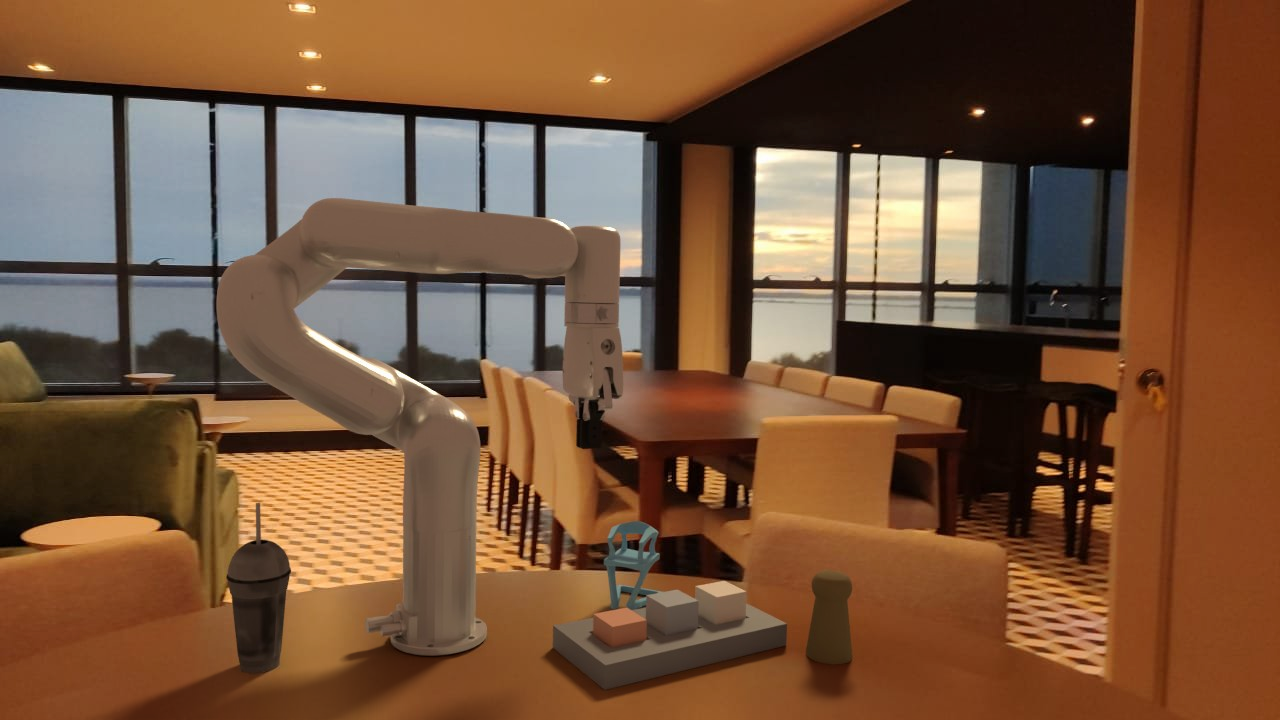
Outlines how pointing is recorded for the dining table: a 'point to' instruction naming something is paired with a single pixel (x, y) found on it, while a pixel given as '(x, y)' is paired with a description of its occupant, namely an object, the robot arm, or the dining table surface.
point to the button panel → (666, 647)
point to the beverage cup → (259, 601)
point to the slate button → (671, 612)
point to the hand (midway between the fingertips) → (588, 447)
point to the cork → (830, 619)
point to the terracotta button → (619, 627)
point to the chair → (631, 562)
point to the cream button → (721, 602)
